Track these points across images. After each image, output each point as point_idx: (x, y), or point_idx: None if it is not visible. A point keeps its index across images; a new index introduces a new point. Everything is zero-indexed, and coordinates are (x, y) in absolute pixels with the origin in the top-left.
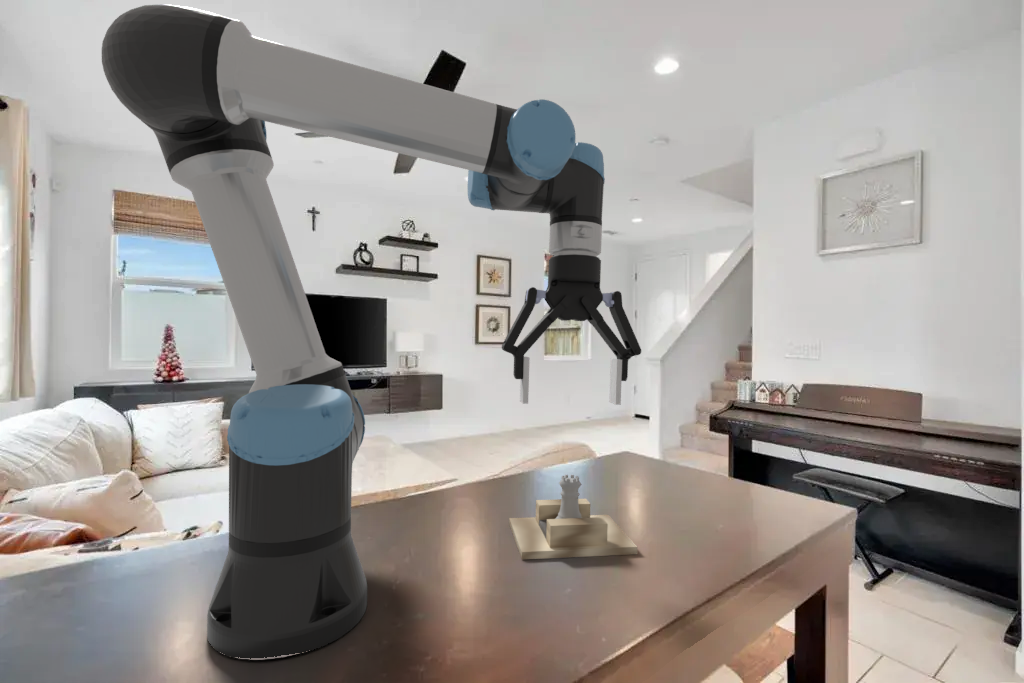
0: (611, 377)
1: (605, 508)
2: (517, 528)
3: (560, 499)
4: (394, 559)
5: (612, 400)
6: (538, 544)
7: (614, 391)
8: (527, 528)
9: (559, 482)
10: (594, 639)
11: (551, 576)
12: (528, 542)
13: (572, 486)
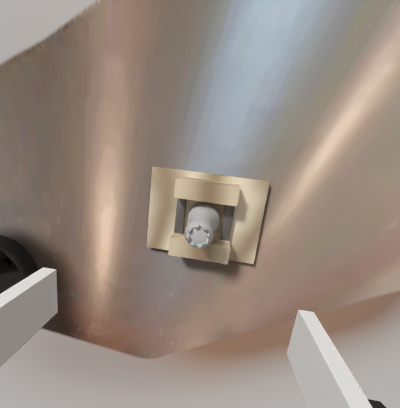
0: (336, 401)
1: (288, 140)
2: (154, 196)
3: (206, 183)
4: (48, 217)
5: (295, 337)
6: (165, 236)
7: (302, 379)
8: (164, 198)
9: (185, 228)
10: (166, 342)
11: (164, 274)
12: (157, 230)
13: (196, 247)
